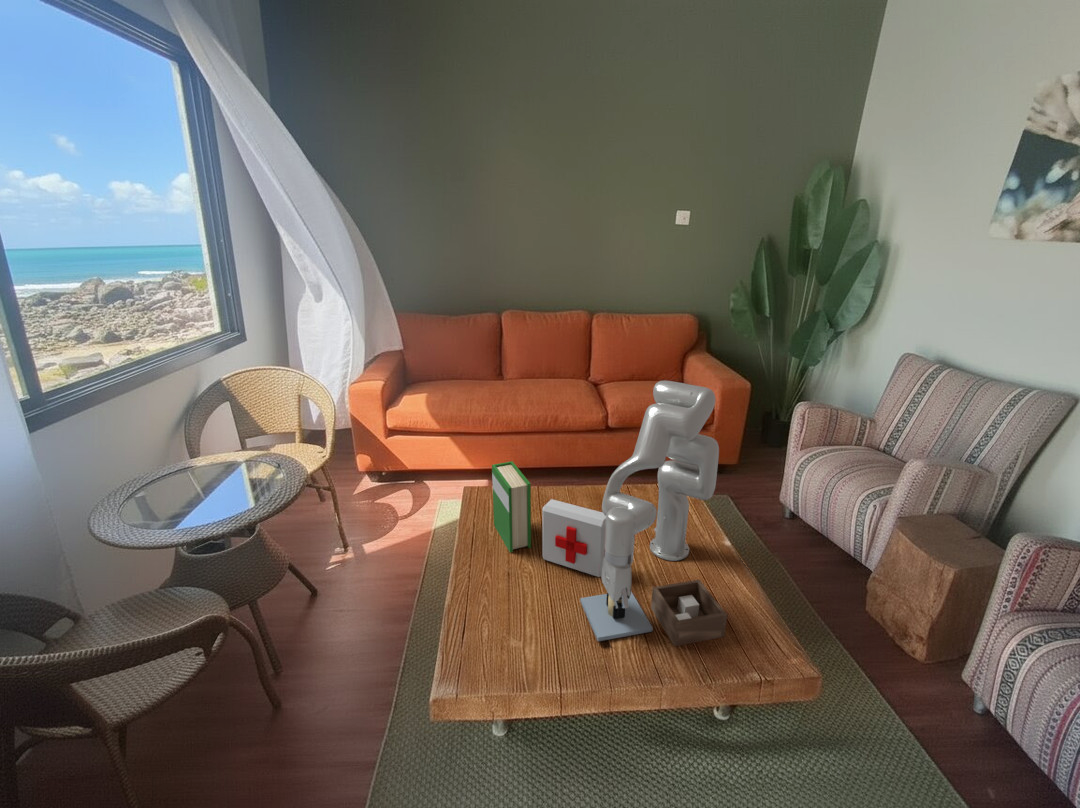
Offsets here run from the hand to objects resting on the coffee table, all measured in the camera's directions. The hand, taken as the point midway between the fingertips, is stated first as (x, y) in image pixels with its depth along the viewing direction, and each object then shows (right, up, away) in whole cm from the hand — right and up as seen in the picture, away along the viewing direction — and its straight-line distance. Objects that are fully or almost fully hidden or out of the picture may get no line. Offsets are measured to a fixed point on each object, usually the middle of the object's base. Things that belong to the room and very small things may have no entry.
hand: (615, 610), depth 139 cm
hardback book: (-30, +10, +39) cm, 50 cm away
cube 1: (+20, -1, +2) cm, 20 cm away
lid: (0, -2, +1) cm, 2 cm away
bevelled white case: (-10, +5, +23) cm, 25 cm away
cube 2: (+17, -4, -4) cm, 18 cm away
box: (+19, -3, -1) cm, 19 cm away
